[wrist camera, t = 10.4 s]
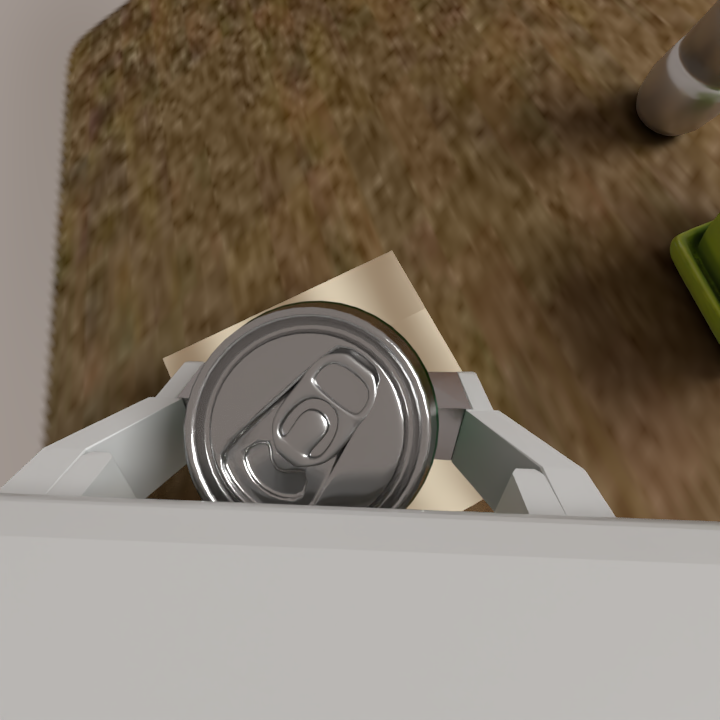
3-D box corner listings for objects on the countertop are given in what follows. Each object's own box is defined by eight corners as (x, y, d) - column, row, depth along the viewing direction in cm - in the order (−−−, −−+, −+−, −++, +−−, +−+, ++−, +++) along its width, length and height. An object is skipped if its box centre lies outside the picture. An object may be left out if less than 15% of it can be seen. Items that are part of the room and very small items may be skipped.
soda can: (276, 406, 18) (97, 455, 6) (335, 332, 18) (285, 228, 6) (351, 465, 17) (330, 649, 5) (409, 390, 18) (513, 404, 6)
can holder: (288, 577, 22) (269, 621, 17) (200, 371, 25) (162, 358, 20) (488, 465, 24) (522, 476, 19) (385, 282, 27) (392, 250, 22)
